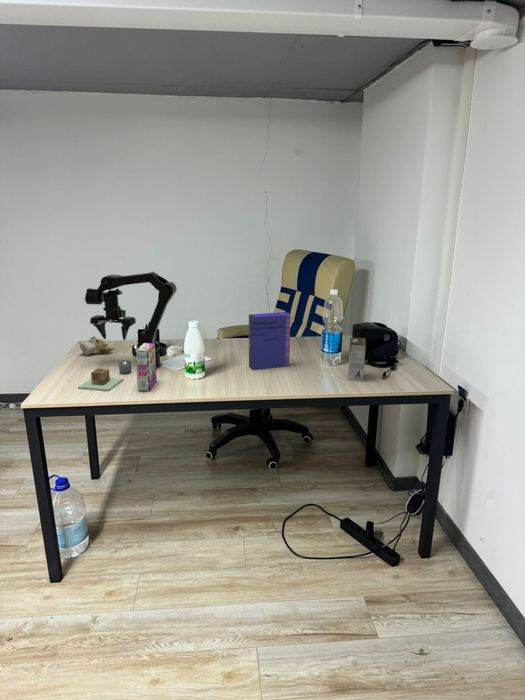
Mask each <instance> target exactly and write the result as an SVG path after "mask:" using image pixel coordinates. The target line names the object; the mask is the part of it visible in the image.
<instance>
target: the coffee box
mask: <svg viewBox="0 0 525 700" xmlns="http://www.w3.org/2000/svg"><path fill="white" fill-rule="evenodd" d="M349 340H350V341H349V351H348V352H349V355H348V369H347V370H348V371H347V372H348V373H347V374H348V375H347V380H348V381H353V382H354V381H356V382H357V381H358V382H364V375H365V374H364V372H365V364H366V363H365V359H366V348H367V347H366V346H367V343H366V342H367V340H366V337H350V339H349Z"/></svg>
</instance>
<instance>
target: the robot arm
mask: <svg viewBox="0 0 525 700" xmlns="http://www.w3.org/2000/svg"><path fill="white" fill-rule="evenodd" d="M145 283H146V284H147V283H149V284H151V285H152V287H154V289H155V290H157V291H158V295H157V297H158V299H157V303H156V305H155V308H154V311H153V314H152V316H151V318H150V320H149V324H148V326H147V328H146V329H144V330H143V331H141V332H140V334H139V337H138V340H137V341H136V342H137V346H138V348H139V347H140V346H141V345H142V344H143V343H155V357H156V369H158V368H159V367H161V366H162V365H161V364H163V363H162V362H161V356H160V355H161V353H160V349H161V345H160V344H159V343H157V341H156V339H157V331H158V328H159V326H160V324H161V322H162V319H163V316H164V314H165V311H166V309H167V306H168V304H169V302H170V301H171V299H173V298H174V295H175V294H176V293H177V290H178V289H177V286H176V284H175V283H174V282H172V281H169V280H167V279H166V278H164V277H163V276H161V275H159V274H157V273H156V272H155V271H150V272H143V273H136V274H129V275H128V274H127V275H120V274H108V275H105V276H103V277H102V278H101V279H100V284H99V286H98V287H97V288H89V287H88V288H87V289H86V292H85V297H84V301H85V303H86V304H87V305H102V304H103V303H104V304H103V305H104V307H103V309H102V310H103V311H105V312H104V313H105V315H97V314H96V315H94V316H92V317H91V318H90V320H89V322H90V323H89V324H91V325H93V327H95V328H96V329H97V330H98V332H99V334H100V335H101V336H102V339H103V340H107V332H106V324H107V323H110V324H111V323H114V324H117V323H118V324H121V327H120V328H121V336H122V339H123V341H126V339H127V336H128V332H129V329H130V327H131V326H133V325H135V324H136V323H137V320H136V318H135V317H134V316H127V315H126V313H127V310H124V309H121V306H120V305H119V297H118V296H119V295H122V294H123V292H122V291H121V290H120V289H119V288H118V287H123V286H128V285H129V286H130V285H136V284H145Z"/></svg>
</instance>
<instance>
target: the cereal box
mask: <svg viewBox="0 0 525 700" xmlns="http://www.w3.org/2000/svg"><path fill="white" fill-rule="evenodd" d="M290 345H291V314H290V312H287V311H284V312H270V313H269V312H267V313H253V314H251V313H250V314H248V368H249V369H250V370H251V371H257V370H268V369H278V368H288V367H290V354H291V353H290V349H291V348H290Z"/></svg>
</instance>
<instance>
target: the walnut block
mask: <svg viewBox="0 0 525 700" xmlns="http://www.w3.org/2000/svg"><path fill="white" fill-rule="evenodd" d="M90 376H91V378H92V384H93V385H105V384H106V383H108V382H109V381H110V378H111V377H110V369H109V368H96V369H94V370H92V371H91V372H90ZM91 378H90V379H91Z"/></svg>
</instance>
